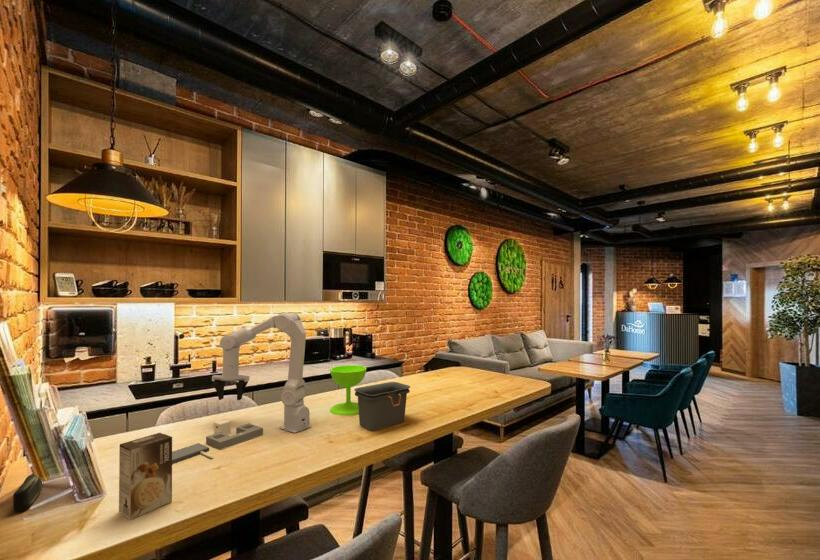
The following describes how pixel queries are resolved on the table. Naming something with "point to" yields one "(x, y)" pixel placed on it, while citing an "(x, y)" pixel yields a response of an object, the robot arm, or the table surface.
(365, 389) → the storage bin
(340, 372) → the wineglass
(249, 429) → the grey compartment tray
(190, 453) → the grey flat pronged bracket
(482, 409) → the table surface
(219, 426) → the beige cube
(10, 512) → the table surface
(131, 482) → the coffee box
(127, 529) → the table surface
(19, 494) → the black rounded bar
